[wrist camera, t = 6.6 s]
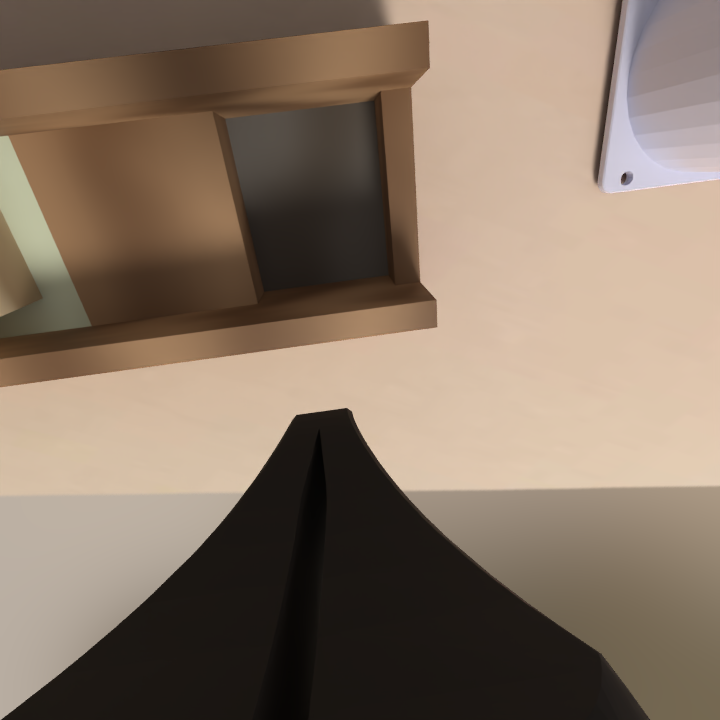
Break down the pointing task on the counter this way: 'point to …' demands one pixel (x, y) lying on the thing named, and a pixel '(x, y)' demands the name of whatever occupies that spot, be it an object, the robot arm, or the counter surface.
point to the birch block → (14, 274)
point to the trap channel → (212, 201)
